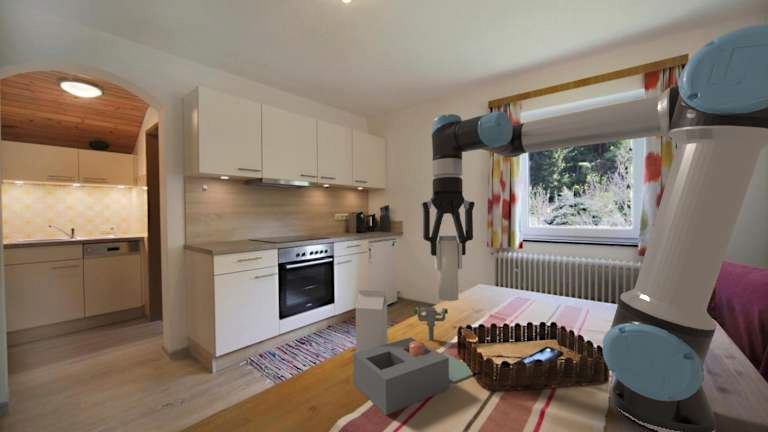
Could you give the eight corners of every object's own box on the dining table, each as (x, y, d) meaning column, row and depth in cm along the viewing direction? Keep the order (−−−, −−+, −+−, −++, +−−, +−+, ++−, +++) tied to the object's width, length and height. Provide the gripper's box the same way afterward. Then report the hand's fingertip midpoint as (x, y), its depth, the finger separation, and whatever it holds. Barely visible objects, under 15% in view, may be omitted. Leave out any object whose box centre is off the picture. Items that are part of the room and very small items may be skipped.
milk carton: (382, 367, 80) (381, 293, 80) (356, 364, 81) (355, 292, 81) (387, 355, 87) (387, 287, 87) (363, 353, 88) (362, 286, 88)
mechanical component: (448, 341, 95) (448, 309, 95) (415, 341, 96) (414, 309, 96) (446, 337, 98) (446, 306, 98) (414, 337, 98) (414, 306, 99)
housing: (449, 388, 69) (448, 357, 69) (385, 415, 60) (385, 379, 60) (410, 363, 81) (410, 337, 81) (353, 383, 72) (352, 353, 72)
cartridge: (455, 295, 82) (454, 235, 82) (460, 300, 77) (460, 236, 77) (436, 296, 81) (436, 235, 82) (441, 301, 76) (440, 236, 77)
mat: (479, 372, 77) (479, 370, 77) (453, 383, 72) (453, 381, 72) (445, 354, 87) (445, 352, 87) (420, 362, 82) (420, 361, 82)
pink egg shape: (427, 376, 73) (427, 345, 73) (416, 381, 71) (415, 348, 71) (418, 370, 76) (418, 339, 76) (406, 374, 74) (406, 343, 74)
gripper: (476, 179, 83) (477, 265, 83) (410, 179, 82) (411, 266, 82) (487, 175, 76) (488, 270, 76) (414, 175, 75) (415, 271, 75)
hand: (448, 268), depth 79 cm, fingers closed on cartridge, 5 cm apart
